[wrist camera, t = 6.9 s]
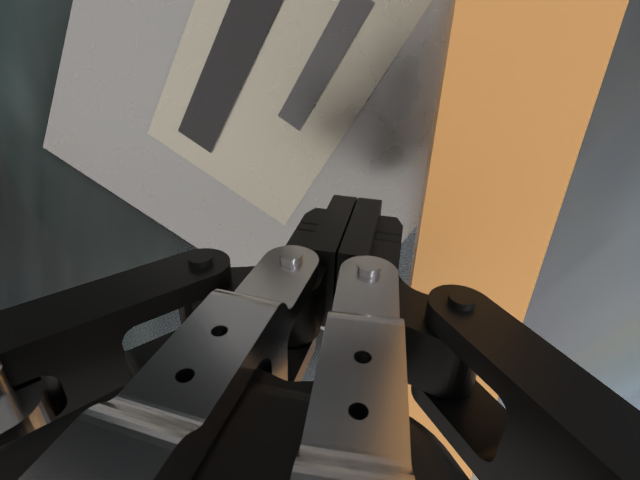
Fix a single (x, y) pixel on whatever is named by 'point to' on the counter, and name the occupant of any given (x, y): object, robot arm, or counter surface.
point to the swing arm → (506, 145)
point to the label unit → (250, 110)
